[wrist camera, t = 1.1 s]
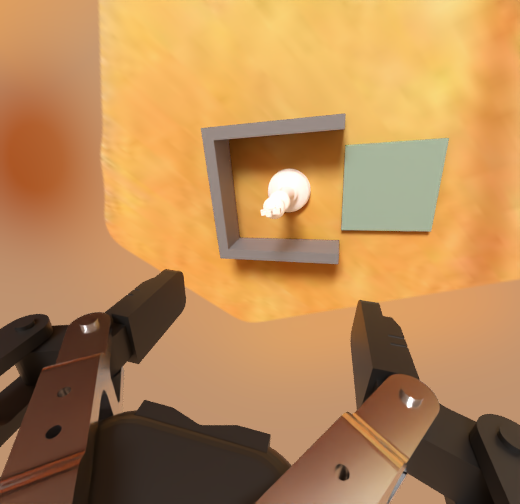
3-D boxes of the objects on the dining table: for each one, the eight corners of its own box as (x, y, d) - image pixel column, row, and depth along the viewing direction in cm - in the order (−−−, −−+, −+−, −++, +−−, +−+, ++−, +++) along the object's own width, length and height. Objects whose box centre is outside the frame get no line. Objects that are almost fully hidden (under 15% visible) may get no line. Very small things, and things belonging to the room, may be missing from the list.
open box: (344, 116, 26) (345, 113, 22) (338, 249, 32) (338, 264, 28) (217, 128, 30) (200, 128, 26) (232, 245, 35) (220, 258, 32)
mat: (446, 138, 24) (448, 138, 24) (429, 229, 28) (430, 231, 28) (345, 145, 27) (345, 145, 26) (341, 228, 31) (341, 230, 30)
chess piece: (312, 209, 31) (301, 240, 22) (271, 213, 32) (246, 243, 23) (308, 165, 29) (294, 180, 20) (265, 171, 30) (235, 188, 22)
